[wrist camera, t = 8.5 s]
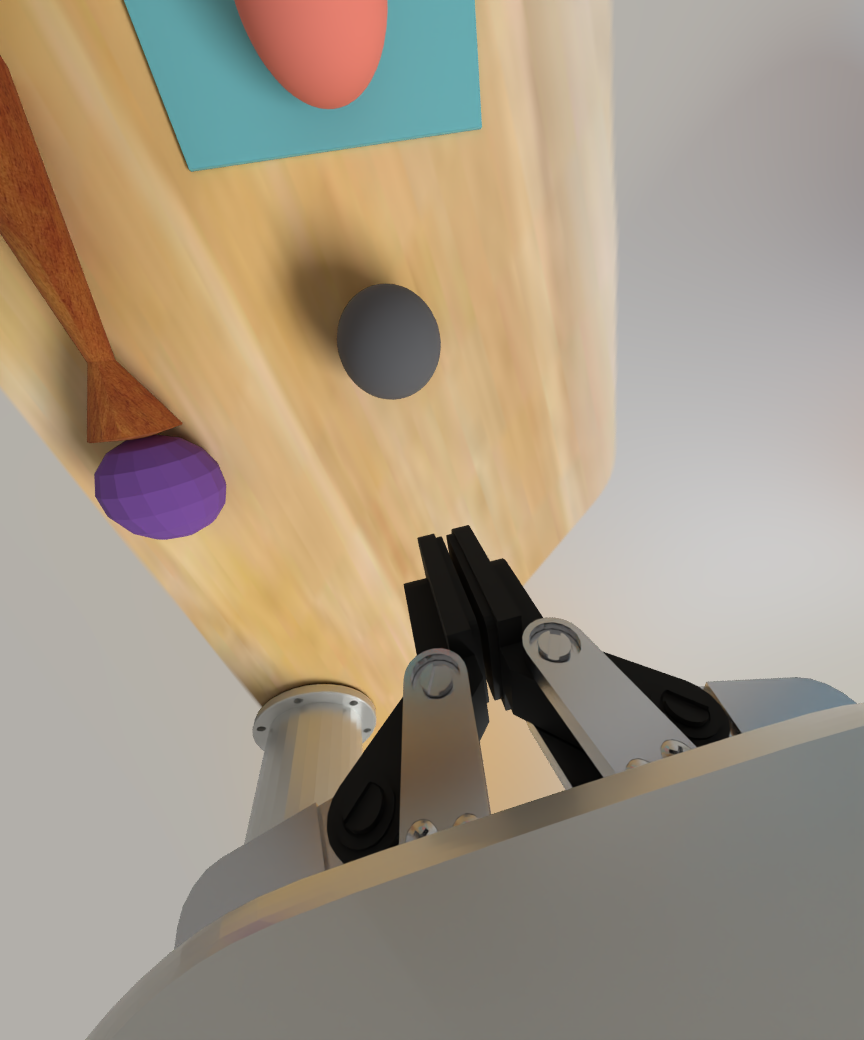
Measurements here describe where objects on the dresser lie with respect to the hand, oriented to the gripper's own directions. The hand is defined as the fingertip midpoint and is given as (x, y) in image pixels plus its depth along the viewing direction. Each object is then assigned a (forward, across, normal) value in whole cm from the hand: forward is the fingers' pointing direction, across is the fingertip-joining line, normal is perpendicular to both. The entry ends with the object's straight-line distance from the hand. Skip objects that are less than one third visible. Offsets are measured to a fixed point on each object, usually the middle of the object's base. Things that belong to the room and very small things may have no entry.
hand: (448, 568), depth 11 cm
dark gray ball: (+12, 0, -6) cm, 14 cm away
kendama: (+15, +14, -8) cm, 22 cm away
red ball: (+12, 0, -18) cm, 21 cm away
